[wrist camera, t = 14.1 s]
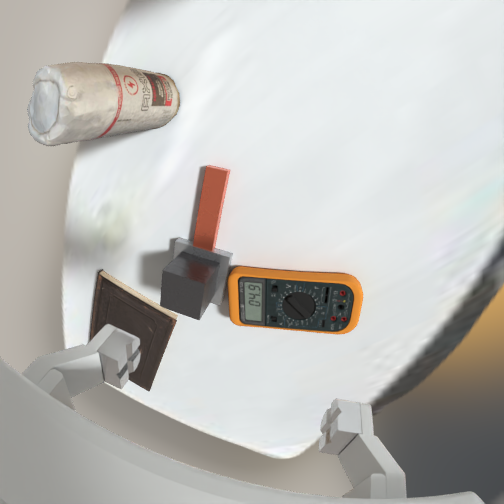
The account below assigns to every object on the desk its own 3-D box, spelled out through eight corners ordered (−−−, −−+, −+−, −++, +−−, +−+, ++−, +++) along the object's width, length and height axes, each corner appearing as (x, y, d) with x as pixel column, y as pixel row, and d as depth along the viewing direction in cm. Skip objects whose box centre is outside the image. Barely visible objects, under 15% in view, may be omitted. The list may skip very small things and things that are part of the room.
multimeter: (353, 323, 42) (355, 337, 39) (235, 313, 46) (229, 326, 43) (363, 271, 39) (366, 283, 36) (232, 262, 42) (225, 273, 39)
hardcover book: (181, 313, 48) (175, 321, 46) (153, 384, 58) (149, 391, 56) (103, 267, 48) (96, 273, 46) (92, 346, 58) (87, 352, 56)
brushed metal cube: (182, 251, 41) (162, 270, 36) (220, 262, 41) (205, 284, 35) (177, 284, 44) (160, 306, 38) (213, 296, 43) (199, 320, 38)
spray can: (178, 134, 36) (68, 149, 18) (126, 131, 37) (13, 150, 19) (185, 72, 33) (79, 41, 15) (132, 74, 34) (19, 61, 16)
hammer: (191, 161, 37) (175, 165, 33) (250, 174, 37) (241, 181, 33) (173, 284, 46) (160, 299, 41) (222, 300, 45) (213, 318, 41)
